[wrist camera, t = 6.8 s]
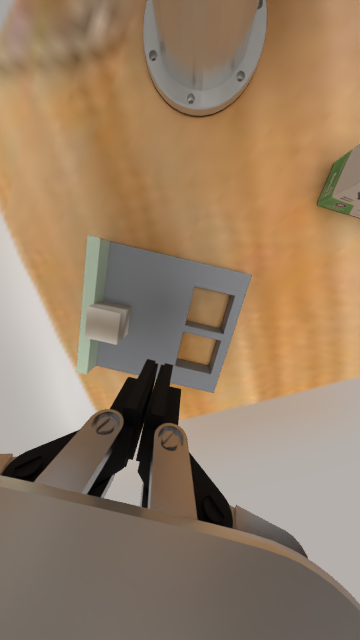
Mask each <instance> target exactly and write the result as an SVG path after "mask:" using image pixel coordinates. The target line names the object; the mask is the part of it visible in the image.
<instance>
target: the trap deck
mask: <svg viewBox="0 0 360 640" xmlns="http://www.w3.org/2000/svg"><path fill="white" fill-rule="evenodd" d="M251 277H252V275H250V274H245V273H241V272H237V271H233V270H228V269H224V268H220V267H216V266H211V265H207V264H203V263H199V262H194V261H190V260H186V259H182V258H177V257H173V256H169V255H165V254H160V253H156V252H152V251H148V250H143V249H139V248H135V247H131V246H127V245H122V244H118V243H114V242H110V241H107V240H104V239H102V238H98V237H94V236H90V235H88V236H87V248H86V260H85V273H84V285H83V297H82V310H81V322H80V334H79V347H78V359H77V371H76V372H79V373H83V374H88V373H89V372H90V371H91V370H92V369H93V368H94V367H95V366H100V367H105V368H109V369H113V370H117V371H122V372H126V373H130V374H134V375H140V373H141V371H142V368H143V366H144V364H145V362H146V360H147V359H150V360H154V361H156V363H157V364H158V369H157V373H156V378H155V379H157V376H158V373H159V370H160V366H161V365H165V363H167V364H171V365H173V370H172V375H171V380H170V383H173V384H177V385H181V386H185V387H190V388H194V389H198V390H202V391H207V392H211V393H214V390H215V387H216V384H217V381H218V378H219V375H220V372H221V369H222V366H223V363H224V360H225V357H226V354H227V350H228V347H229V344H230V341H231V338H232V335H233V332H234V329H235V326H236V323H237V320H238V317H239V313H240V310H241V307H242V304H243V301H244V298H245V295H246V292H247V289H248V286H249V283H250V280H251ZM194 286H196V287H200V288H204V289H208V290H213V291H217V292H221V293H225V294H230V295H231V296H230V299H229V302H228V306H227V309H226V312H225V316H224V319H223V322H222V326H221V329H219V328H215V327H210V326H206V325H202V324H198V323H193V322H189V321H186V319H187V315H188V311H189V307H190V303H191V298H192V294H193V290H194ZM102 301H106V302H110V303H115V304H119V305H124V306H128V307H132V309H131V315H130V322H129V329H128V334H127V335H126V336H125V337H124V338H123V339H122V340H121V341H120V342H119V343H118V344H117V345H115V344H111V343H106V342H102V341H98V340H93V339H89V338H85V329H86V316H87V306H89V305H92V304H96V303H99V302H102ZM183 332H186V333H190V334H194V335H199V336H203V337H207V338H211V339H216V340H217V342H216V345H215V349H214V352H213V355H212V359H211V362H210V365H209V366H207V365H203V364H199V363H194V362H190V361H186V360H182V359H177V356H178V351H179V347H180V343H181V339H182V335H183Z"/></svg>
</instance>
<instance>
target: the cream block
mask: <svg viewBox="0 0 360 640" xmlns="http://www.w3.org/2000/svg"><path fill="white" fill-rule="evenodd" d="M131 309H132V307H128V306H124V305H119V304H115V303H110V302H106V301H102V302H99V303H96V304H92V305H89V306H87V316H86V329H85V338H89V339H93V340H98V341H102V342H106V343H111V344H115V345H117V344H118V343H119V342H120V341H121V340H122V339H123V338H124V337H125V336H126V335H127V334H128V329H129V322H130V315H131Z"/></svg>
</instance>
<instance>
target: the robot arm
mask: <svg viewBox="0 0 360 640" xmlns="http://www.w3.org/2000/svg"><path fill="white" fill-rule="evenodd" d="M266 27H267V4H266V0H147V2H146V7H145V12H144V18H143V43H144V52H145V57H146V62H147V66H148V69H149V72H150V76H151V79H152V81H153V83H154V85H155V87H156V89H157V90H158V92H159V93H160V94H161V96H162V97H163V98H164V100H165V101H167V102H168V103H169V104H170V105H171V106H172V107H174V108H175V109H177V110H179V111H180V112H183V113H186V114H189V115H197V116H203V115H209V114H213V113H216V112H218V111H220V110H222V109H224V108H225V107H227V106H228V105H230V104H231V103H233V102H234V101H235V100H236V99H237V98H238V97H239V96H240V94H241V93H242V92H243V91H244V89H245V88H246V86H247V85H248V84H249V82H250V80H251V78H252V76H253V74H254V72H255V70H256V67H257V64H258V61H259V59H260V56H261V53H262V49H263V45H264V41H265V36H266ZM157 369H158V364H157V363H156V361H154V360H150V359H147V360H146V362H145V364H144V366H143V368H142V371H141V373H140V375H139V377H138V379H135V378H131V377H128V378H127V380H126V382H125V383H124V385H123V387H122V389H121V390H120V392H119V394H118V396H117V397H116V399H115V401H114V403H113V404H112V406H111V408H110V409H105V410H101V411H99V412H97V413H95V414H94V415H93V416H92V417H91V418H90V419H89V420H88V421H87V422H86V423H85V424H84V426H83V427H82V428H81V429H80V430H78V431H75V432H73V433H71V434H68V435H66V436H63V437H61V438H58V439H56V440H54V441H51V442H49V443H46V444H44V445H41V446H39V447H37V448H34V449H32V450H29V451H27V452H25V453H23V454H21V455H19V456H18V457H13V454H0V640H360V604H359V603H358V602H357V601H356V599H355V598H354V597H353V596H352V595H351V594H350V593H349V592H348V591H347V590H346V589H345V588H344V587H343V586H342V585H341V584H340V583H339V582H337V581H336V580H335V579H334V578H333V577H332V576H330V575H329V574H328V573H326V572H325V571H324V570H323V569H321V568H320V567H319V566H318V565H316V564H315V563H313V562H312V561H310V560H309V559H308V557H307V555H306V553H305V551H304V550H303V548H302V546H301V545H300V544H299V542H298V541H297V540H296V539H295V538H294V537H293V536H292V535H291V534H289V533H288V532H286V531H285V530H283V529H281V528H279V527H277V526H275V525H273V524H272V523H269V522H268V521H266V520H264V519H262V518H260V517H258V516H256V515H254V514H252V513H250V512H249V511H247V510H245V509H243V508H241V507H239V506H237V505H236V507H235V508H234V507H232V506H230V505H229V504H228V502H227V500H226V499H225V497H224V496H223V495H222V493H221V492H220V491H219V489H218V488H217V487H216V486H215V484H214V483H213V482H212V481H211V479H210V478H209V477H208V476H207V474H206V473H205V472H204V470H203V469H202V468H201V467H200V465H199V464H198V463H197V462H196V461H195V459H194V458H193V456H192V455H191V454H190V453H189V450H188V441H187V436H186V434H185V432H184V430H183V429H182V428H181V427H179V426H178V420H179V408H180V397H181V389H178V388H174V387H170V380H171V375H172V370H173V365H171V364H167V363H165V365H161V366H160V370H159V373H158V376H157V379H156V382H155V378H156V373H157ZM154 383H155V386H154ZM153 387H154V389H153ZM143 424H144V425H143ZM142 428H143V430H142ZM141 431H142V435H141V440H140V445H139V449H138V454H137V458H136V461H140V463H139V468H138V473H139V475H140V477H141V479H142V481H143V485H142V493H141V503H140V507H138V506H135V505H130V504H126V503H122V502H117V501H113V500H109V499H104V496H105V495H106V493H107V491H108V489H109V487H110V485H111V483H112V481H113V478H114V476H115V473H117V472H118V471H120V470H122V469H123V468H124V467H126V465H127V462H128V459H131V460H133V457H134V454H135V451H136V447H137V444H138V441H139V437H140V434H141Z"/></svg>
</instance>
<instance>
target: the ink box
mask: <svg viewBox="0 0 360 640" xmlns="http://www.w3.org/2000/svg"><path fill="white" fill-rule="evenodd" d="M317 205H318V206H322V207H325V208H328V209H331V210H335V211H338V212H342V213H345V214H348V215H352V216H355V217H358V218H360V144H359V145H358V146H357V147H355V148H354V149H353V150H351V151H350V152H348V153H347V154H346V155H344V156H343V157H342V158H340V159H339V160H338V161H336V162H335V163H334V165H333V168H332V170H331V172H330V175H329V177H328V179H327V182H326V184H325V186H324V188H323V191H322V193H321V196H320V198H319V200H318V203H317Z"/></svg>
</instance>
